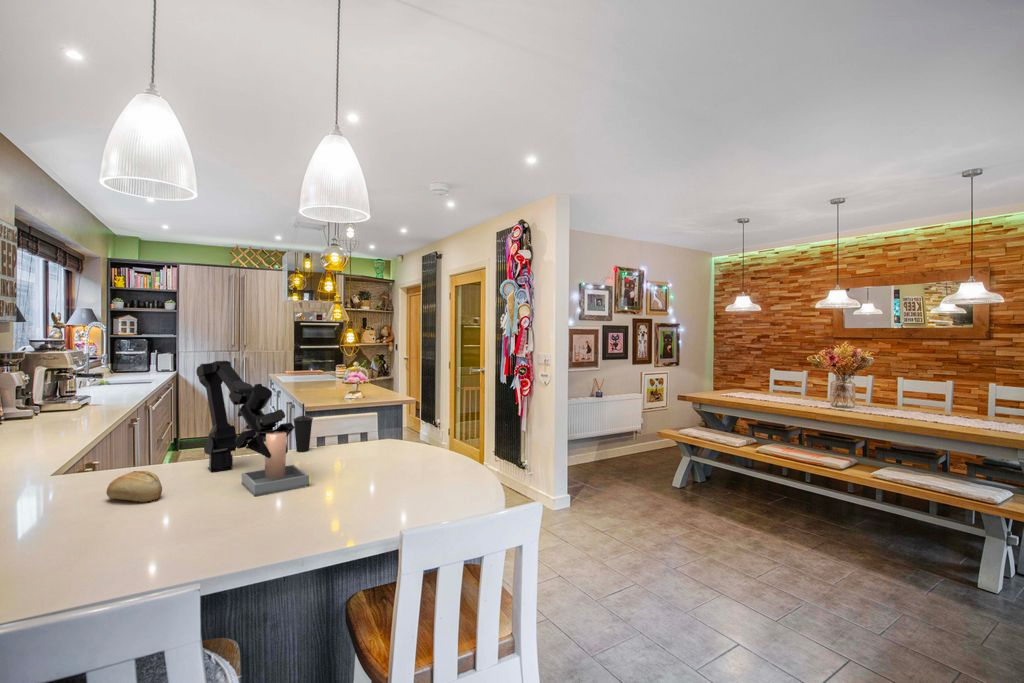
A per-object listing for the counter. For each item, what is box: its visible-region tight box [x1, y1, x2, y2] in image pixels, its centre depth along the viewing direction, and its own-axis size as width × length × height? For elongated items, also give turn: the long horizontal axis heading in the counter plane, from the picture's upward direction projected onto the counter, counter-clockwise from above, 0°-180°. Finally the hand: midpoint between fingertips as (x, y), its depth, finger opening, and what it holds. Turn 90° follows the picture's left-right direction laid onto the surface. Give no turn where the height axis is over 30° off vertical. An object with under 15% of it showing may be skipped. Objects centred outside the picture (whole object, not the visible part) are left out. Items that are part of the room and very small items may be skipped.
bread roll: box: [106, 470, 163, 503], centre depth 139 cm, size 10×15×8 cm, turn 87°
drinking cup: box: [292, 402, 314, 453], centre depth 199 cm, size 8×8×20 cm
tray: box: [241, 464, 310, 497], centre depth 154 cm, size 16×16×4 cm
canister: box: [264, 432, 287, 479], centre depth 154 cm, size 6×6×14 cm
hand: (278, 455), depth 154 cm, fingers closed on canister, 6 cm apart
